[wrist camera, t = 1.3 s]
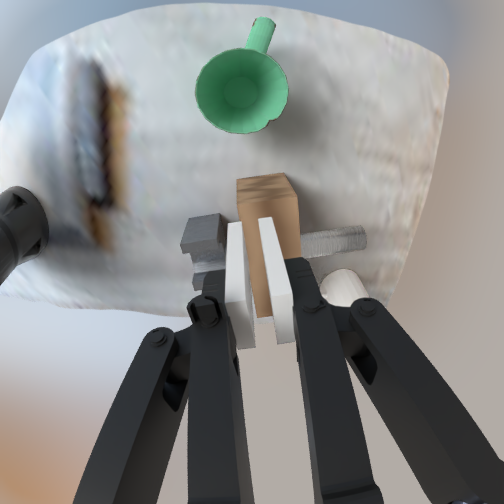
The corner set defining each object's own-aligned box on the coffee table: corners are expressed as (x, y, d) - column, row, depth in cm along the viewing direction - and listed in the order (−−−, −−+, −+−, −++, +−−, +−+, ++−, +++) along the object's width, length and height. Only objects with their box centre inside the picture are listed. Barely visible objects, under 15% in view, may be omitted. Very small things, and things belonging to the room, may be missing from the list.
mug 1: (264, 133, 37) (273, 144, 29) (197, 117, 35) (184, 123, 27) (294, 42, 30) (312, 26, 22) (225, 24, 28) (222, 2, 20)
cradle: (200, 260, 48) (194, 290, 41) (188, 218, 44) (179, 244, 37) (228, 256, 48) (227, 286, 41) (219, 213, 43) (216, 238, 36)
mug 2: (308, 263, 49) (321, 299, 41) (364, 271, 51) (384, 304, 43) (295, 297, 53) (304, 335, 45) (348, 302, 55) (364, 337, 47)
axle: (228, 261, 42) (228, 275, 39) (224, 240, 40) (223, 253, 37) (356, 242, 42) (365, 254, 39) (357, 221, 40) (367, 232, 37)
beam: (253, 276, 50) (257, 317, 41) (236, 179, 41) (236, 205, 32) (292, 271, 50) (303, 310, 41) (283, 172, 41) (297, 196, 32)
